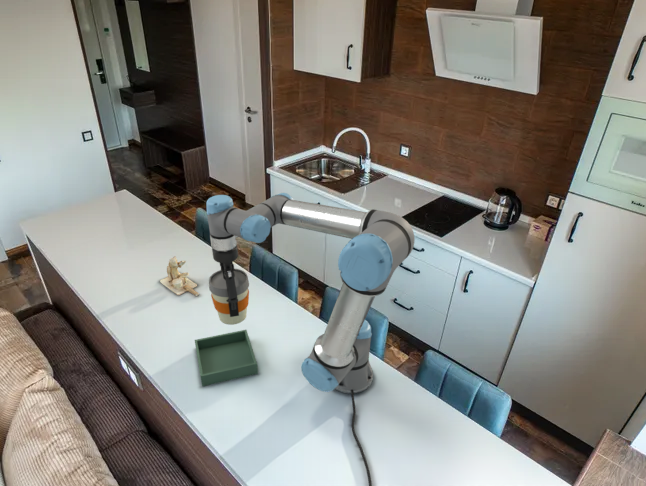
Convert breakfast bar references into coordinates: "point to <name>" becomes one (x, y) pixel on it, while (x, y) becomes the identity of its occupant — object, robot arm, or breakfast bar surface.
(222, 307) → the reusable coffee cup
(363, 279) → the robot arm
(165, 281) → the wooden toy
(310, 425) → the breakfast bar surface
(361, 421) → the breakfast bar surface
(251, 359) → the green square tray
